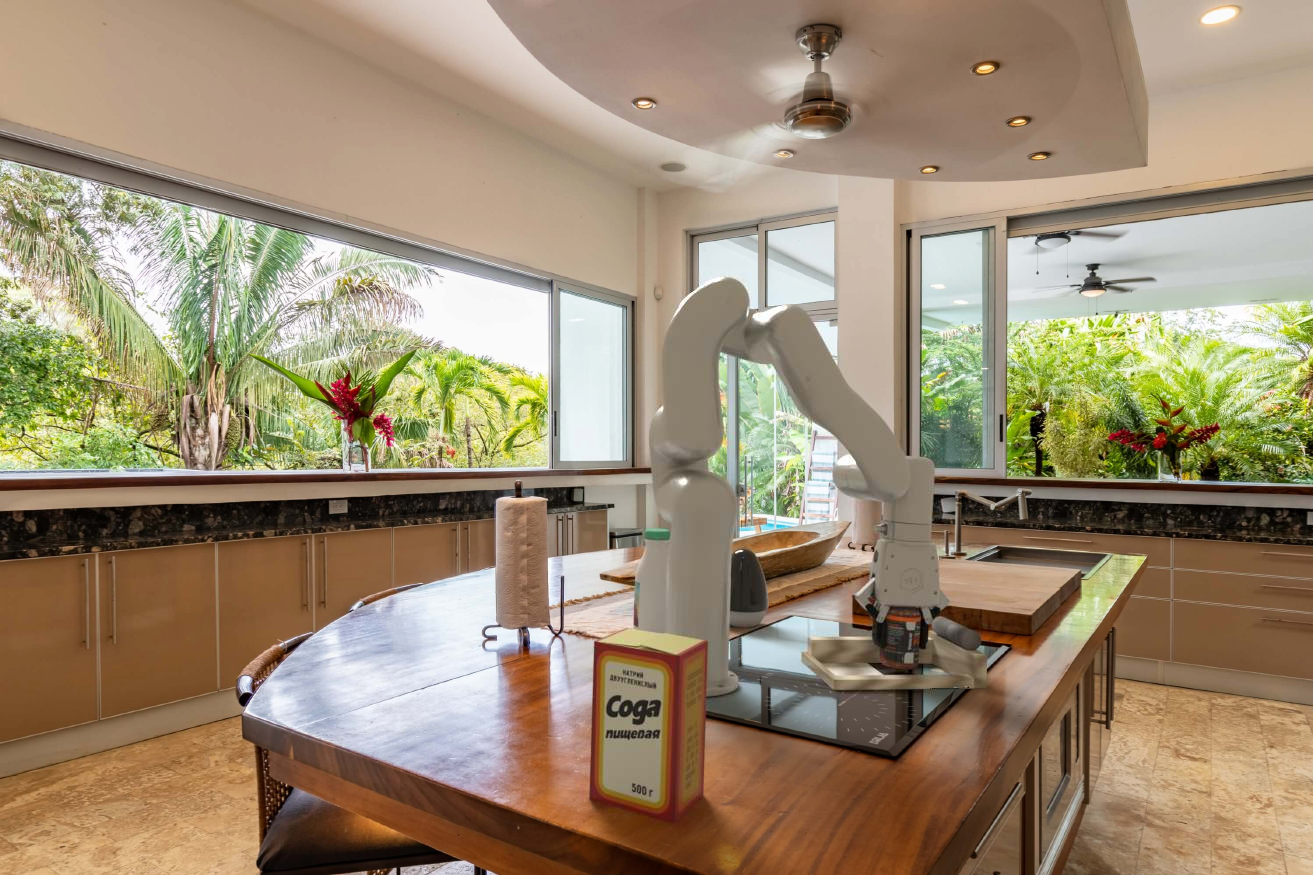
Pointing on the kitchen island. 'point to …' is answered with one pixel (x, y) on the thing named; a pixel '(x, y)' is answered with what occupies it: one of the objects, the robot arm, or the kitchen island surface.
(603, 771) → the baking soda box
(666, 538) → the milk bottle
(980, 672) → the bay
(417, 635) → the kitchen island surface
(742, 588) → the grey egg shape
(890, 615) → the supplement bottle
